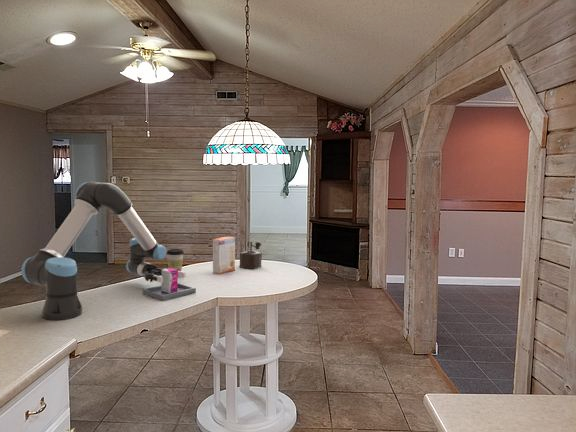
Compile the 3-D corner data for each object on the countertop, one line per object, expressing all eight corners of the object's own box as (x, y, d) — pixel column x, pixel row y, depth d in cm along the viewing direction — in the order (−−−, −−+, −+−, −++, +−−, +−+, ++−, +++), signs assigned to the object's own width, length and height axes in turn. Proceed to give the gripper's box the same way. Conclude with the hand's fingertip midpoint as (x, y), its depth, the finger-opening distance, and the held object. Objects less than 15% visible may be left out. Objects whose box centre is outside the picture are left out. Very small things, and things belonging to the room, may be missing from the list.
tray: (162, 301, 214) (162, 295, 214) (142, 294, 224) (142, 289, 224) (195, 292, 230) (195, 287, 230) (175, 286, 240) (175, 282, 240)
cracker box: (228, 269, 285) (228, 235, 283) (235, 270, 281) (235, 237, 279) (211, 272, 274) (212, 238, 271) (219, 274, 270) (219, 239, 268)
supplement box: (169, 294, 223) (169, 271, 222) (160, 292, 226) (160, 269, 225) (178, 291, 228) (178, 269, 227) (169, 289, 231) (169, 267, 230)
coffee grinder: (238, 267, 290) (238, 239, 288) (248, 264, 300) (249, 237, 298) (258, 271, 282) (258, 242, 280) (268, 267, 291) (269, 240, 290)
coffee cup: (179, 278, 258) (179, 252, 257) (163, 277, 260) (163, 251, 259) (186, 274, 268) (186, 249, 266) (171, 273, 270) (171, 248, 268)
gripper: (167, 273, 247) (193, 280, 234) (126, 281, 228) (151, 289, 215) (167, 259, 247) (193, 266, 234) (126, 267, 227) (151, 274, 214)
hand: (173, 277), depth 224 cm, fingers open, 13 cm apart
